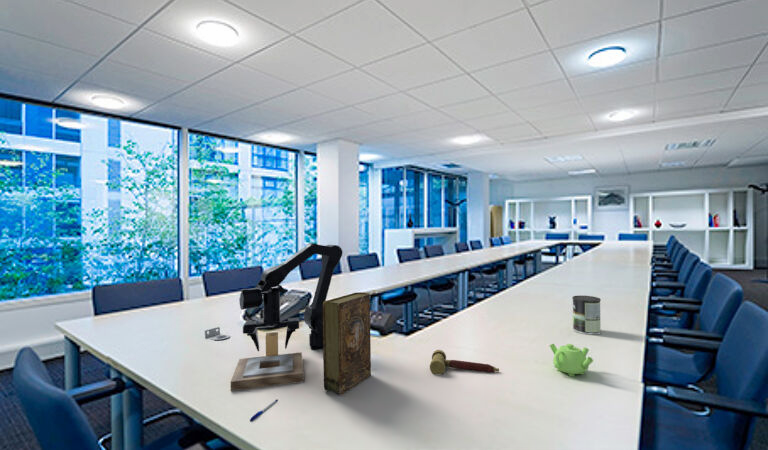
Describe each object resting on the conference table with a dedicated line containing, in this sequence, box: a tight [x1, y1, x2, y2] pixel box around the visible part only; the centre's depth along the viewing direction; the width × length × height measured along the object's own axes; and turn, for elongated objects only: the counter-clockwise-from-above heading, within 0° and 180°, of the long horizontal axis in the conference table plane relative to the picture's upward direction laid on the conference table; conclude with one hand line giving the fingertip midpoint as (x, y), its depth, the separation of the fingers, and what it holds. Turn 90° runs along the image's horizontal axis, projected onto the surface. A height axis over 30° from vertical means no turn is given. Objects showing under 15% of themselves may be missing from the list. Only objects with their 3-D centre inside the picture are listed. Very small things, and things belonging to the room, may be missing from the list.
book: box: [322, 291, 372, 396], centre depth 103 cm, size 16×6×25 cm, turn 148°
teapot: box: [549, 343, 594, 378], centre depth 109 cm, size 11×12×8 cm
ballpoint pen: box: [249, 398, 278, 422], centre depth 89 cm, size 10×1×1 cm, turn 163°
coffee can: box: [572, 295, 602, 336], centre depth 149 cm, size 10×10×14 cm
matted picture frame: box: [230, 352, 305, 392], centre depth 111 cm, size 20×18×3 cm
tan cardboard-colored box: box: [265, 331, 279, 356], centre depth 125 cm, size 4×4×8 cm
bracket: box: [204, 326, 231, 341], centre depth 149 cm, size 7×10×4 cm, turn 57°
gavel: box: [429, 349, 500, 375], centre depth 111 cm, size 21×5×10 cm
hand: (272, 349), depth 125 cm, fingers open, 9 cm apart
